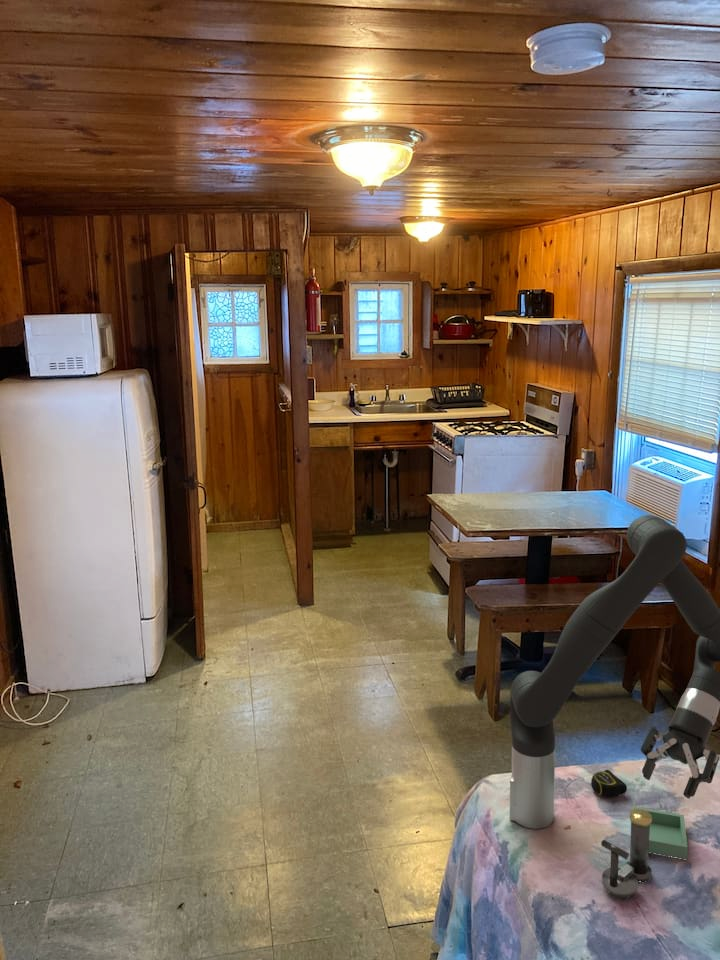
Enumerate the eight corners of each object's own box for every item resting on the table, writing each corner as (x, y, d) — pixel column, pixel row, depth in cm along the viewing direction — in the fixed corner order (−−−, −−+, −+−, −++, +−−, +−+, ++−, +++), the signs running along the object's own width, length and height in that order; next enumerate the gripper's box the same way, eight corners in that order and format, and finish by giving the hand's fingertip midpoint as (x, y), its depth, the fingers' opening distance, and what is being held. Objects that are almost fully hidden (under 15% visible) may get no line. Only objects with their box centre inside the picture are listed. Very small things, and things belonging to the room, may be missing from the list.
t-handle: (625, 909, 138) (627, 857, 135) (595, 890, 142) (596, 840, 140) (645, 890, 142) (647, 840, 140) (614, 872, 147) (616, 824, 145)
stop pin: (625, 879, 145) (627, 820, 142) (625, 863, 149) (627, 805, 147) (651, 884, 143) (654, 825, 141) (650, 868, 148) (653, 810, 145)
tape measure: (628, 797, 170) (628, 783, 170) (602, 804, 168) (603, 789, 168) (609, 781, 177) (610, 767, 176) (585, 787, 175) (585, 772, 174)
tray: (631, 850, 153) (631, 837, 152) (630, 818, 163) (631, 806, 162) (686, 860, 149) (687, 847, 149) (683, 827, 159) (683, 815, 159)
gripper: (657, 696, 158) (626, 766, 153) (725, 721, 147) (695, 796, 142) (668, 710, 162) (639, 778, 157) (735, 735, 152) (706, 809, 147)
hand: (665, 787), depth 150 cm, fingers open, 8 cm apart
